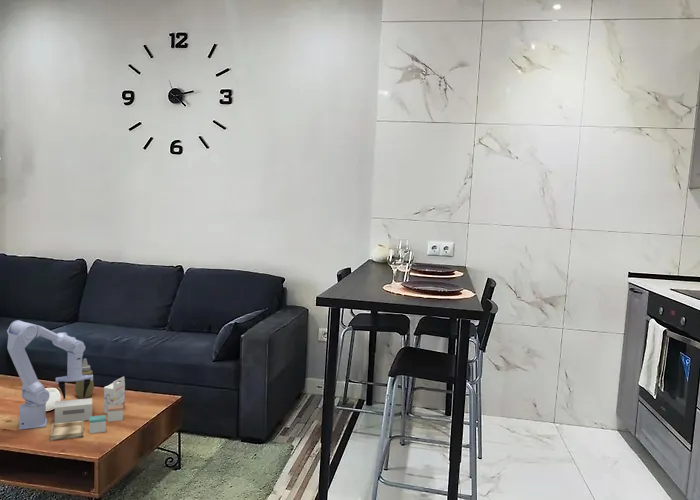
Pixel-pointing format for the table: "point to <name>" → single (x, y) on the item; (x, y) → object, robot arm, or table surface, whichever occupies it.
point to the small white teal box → (97, 424)
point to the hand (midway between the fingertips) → (74, 397)
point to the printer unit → (73, 410)
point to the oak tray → (66, 430)
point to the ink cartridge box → (114, 394)
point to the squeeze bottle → (80, 384)
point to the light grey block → (115, 413)
